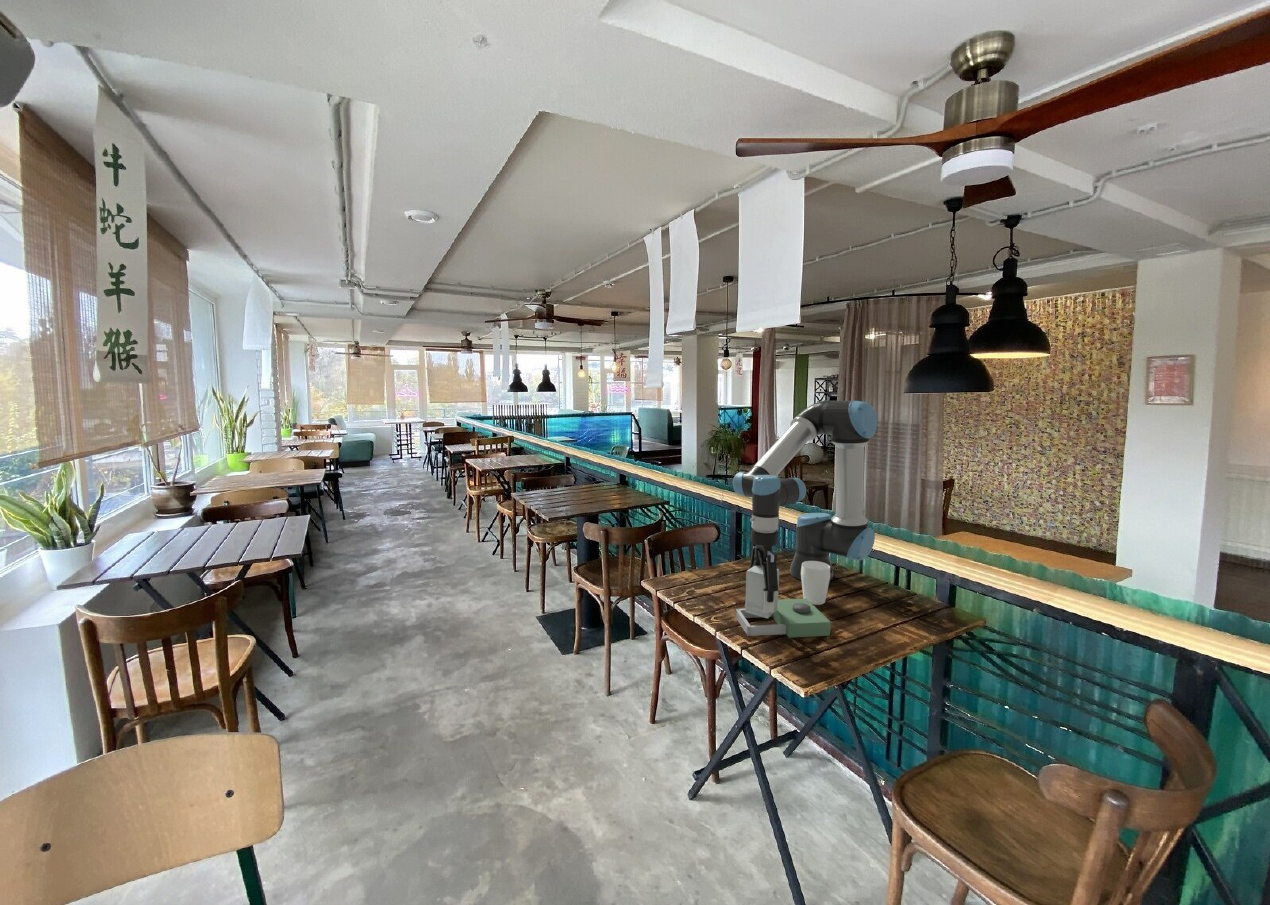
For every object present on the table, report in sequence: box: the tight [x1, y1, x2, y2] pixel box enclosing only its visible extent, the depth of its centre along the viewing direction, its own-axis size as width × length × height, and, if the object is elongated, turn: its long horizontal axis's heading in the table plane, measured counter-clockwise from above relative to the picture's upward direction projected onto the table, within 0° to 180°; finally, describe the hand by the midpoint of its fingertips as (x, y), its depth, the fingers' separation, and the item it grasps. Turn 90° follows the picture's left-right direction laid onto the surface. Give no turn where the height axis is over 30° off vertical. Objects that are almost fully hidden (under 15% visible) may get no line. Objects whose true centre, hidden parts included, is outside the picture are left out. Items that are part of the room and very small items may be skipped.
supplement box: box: [744, 565, 780, 619], centre depth 147 cm, size 7×7×13 cm
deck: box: [734, 598, 832, 639], centre depth 149 cm, size 23×16×5 cm
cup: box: [801, 561, 831, 606], centre depth 165 cm, size 9×9×12 cm
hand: (761, 603), depth 148 cm, fingers closed on supplement box, 10 cm apart
